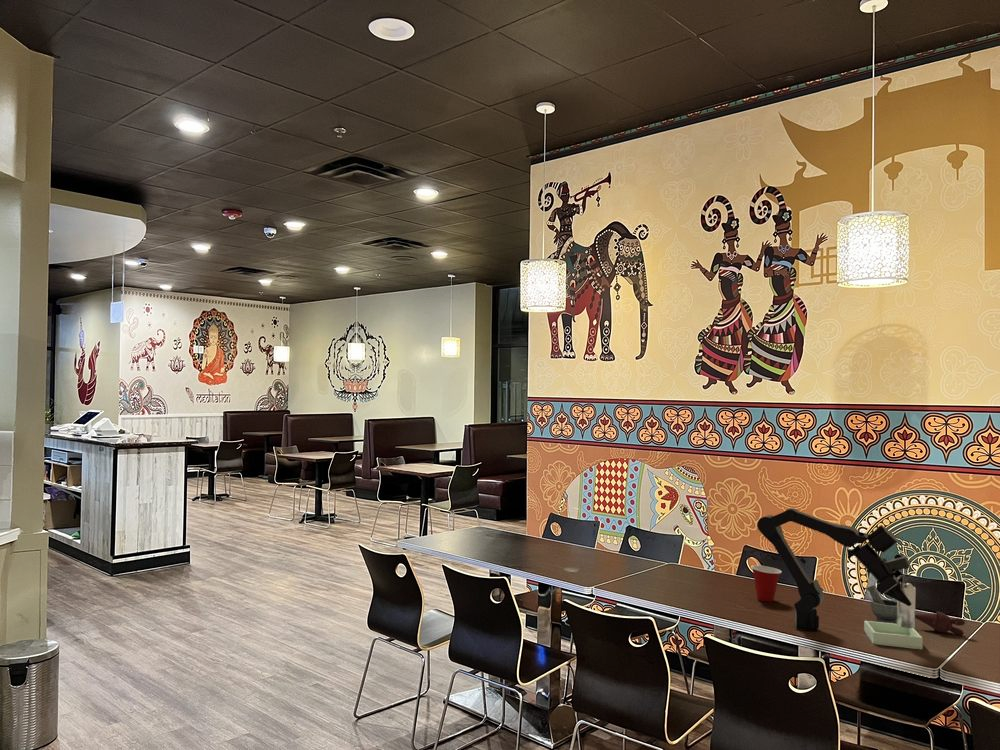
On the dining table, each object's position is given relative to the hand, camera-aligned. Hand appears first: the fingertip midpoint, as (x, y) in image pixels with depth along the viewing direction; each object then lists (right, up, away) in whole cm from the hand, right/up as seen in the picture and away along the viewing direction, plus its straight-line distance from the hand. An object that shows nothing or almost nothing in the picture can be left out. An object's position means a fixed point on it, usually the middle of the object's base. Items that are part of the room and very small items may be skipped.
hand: (911, 603), depth 223 cm
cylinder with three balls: (-1, -7, +1) cm, 7 cm away
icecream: (+19, -15, +17) cm, 29 cm away
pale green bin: (-2, -14, +7) cm, 15 cm away
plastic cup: (-26, -15, +52) cm, 60 cm away
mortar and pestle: (+5, -15, +26) cm, 31 cm away
